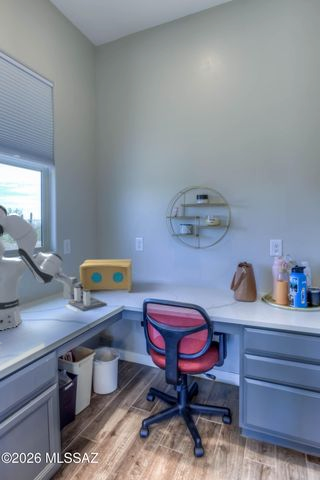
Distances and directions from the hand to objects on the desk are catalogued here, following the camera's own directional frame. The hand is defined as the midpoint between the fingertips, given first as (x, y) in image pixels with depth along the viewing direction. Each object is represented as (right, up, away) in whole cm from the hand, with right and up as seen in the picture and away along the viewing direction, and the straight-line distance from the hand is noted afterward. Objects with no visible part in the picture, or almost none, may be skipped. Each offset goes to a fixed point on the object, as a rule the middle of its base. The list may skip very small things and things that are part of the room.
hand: (70, 285), depth 177 cm
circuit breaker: (-9, -15, +35) cm, 39 cm away
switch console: (+5, -17, +16) cm, 23 cm away
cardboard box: (+13, -14, +58) cm, 61 cm away
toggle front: (+8, -16, +9) cm, 20 cm away
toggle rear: (-1, -15, +19) cm, 24 cm away
